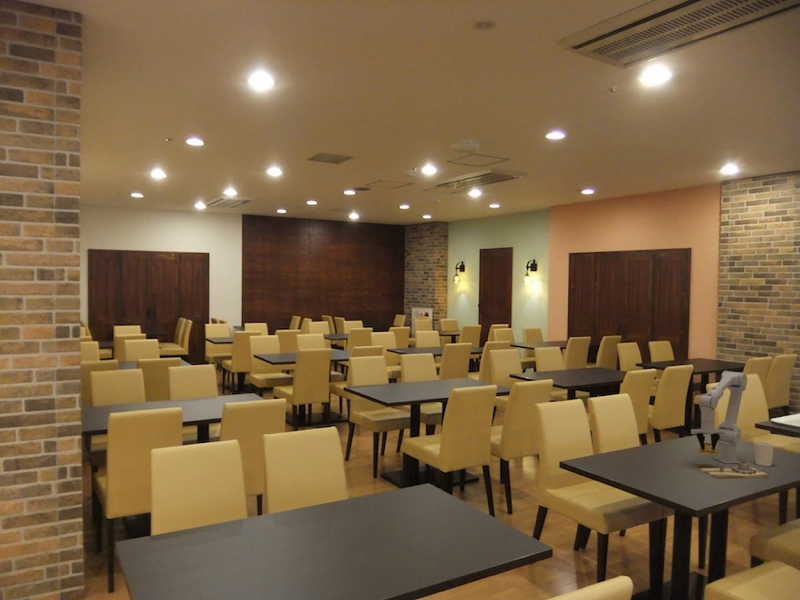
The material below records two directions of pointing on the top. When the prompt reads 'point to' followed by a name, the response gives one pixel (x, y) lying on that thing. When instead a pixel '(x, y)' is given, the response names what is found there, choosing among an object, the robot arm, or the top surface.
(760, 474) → the gear board
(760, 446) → the white cup
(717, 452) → the brass gear
